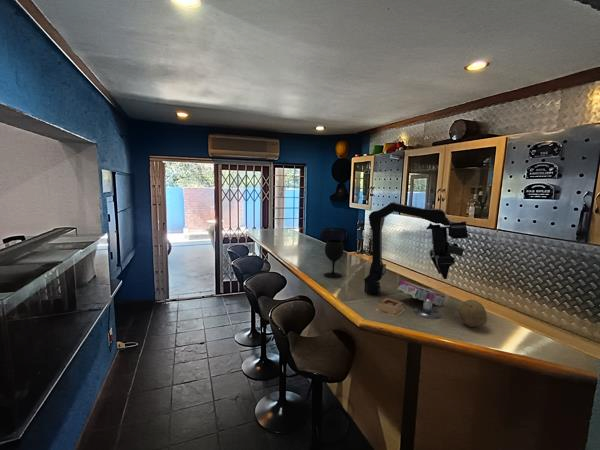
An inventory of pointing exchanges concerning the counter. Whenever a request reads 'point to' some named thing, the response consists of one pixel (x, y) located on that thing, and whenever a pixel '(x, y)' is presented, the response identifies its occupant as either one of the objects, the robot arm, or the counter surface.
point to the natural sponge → (473, 313)
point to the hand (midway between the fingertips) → (442, 276)
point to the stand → (391, 314)
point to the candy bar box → (420, 293)
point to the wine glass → (333, 255)
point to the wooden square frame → (390, 306)
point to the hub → (427, 310)
